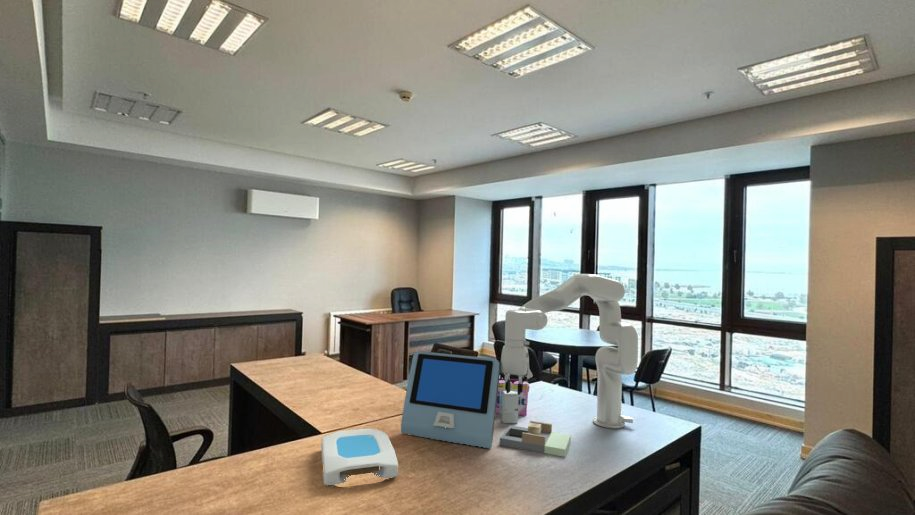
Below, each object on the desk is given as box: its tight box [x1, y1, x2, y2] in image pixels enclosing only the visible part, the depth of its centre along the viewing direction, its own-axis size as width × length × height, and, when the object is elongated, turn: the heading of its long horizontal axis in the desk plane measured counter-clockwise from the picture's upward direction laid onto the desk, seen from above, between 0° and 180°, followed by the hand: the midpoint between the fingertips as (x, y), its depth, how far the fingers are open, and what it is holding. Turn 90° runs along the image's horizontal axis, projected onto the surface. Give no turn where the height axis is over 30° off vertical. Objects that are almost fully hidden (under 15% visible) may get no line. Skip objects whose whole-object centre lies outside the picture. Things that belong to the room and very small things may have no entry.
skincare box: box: [501, 391, 519, 424], centre depth 180 cm, size 6×4×12 cm
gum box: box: [495, 378, 531, 416], centre depth 193 cm, size 24×8×14 cm, turn 84°
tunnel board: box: [499, 420, 572, 458], centre depth 158 cm, size 23×14×6 cm, turn 68°
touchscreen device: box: [400, 350, 501, 449], centre depth 166 cm, size 35×20×30 cm, turn 70°
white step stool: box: [320, 427, 399, 486], centre depth 138 cm, size 21×28×6 cm
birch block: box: [527, 422, 541, 435], centre depth 158 cm, size 4×4×4 cm
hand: (513, 392), depth 162 cm, fingers open, 3 cm apart
